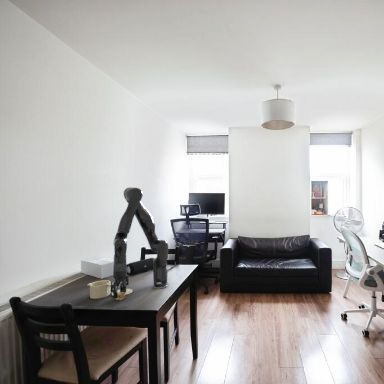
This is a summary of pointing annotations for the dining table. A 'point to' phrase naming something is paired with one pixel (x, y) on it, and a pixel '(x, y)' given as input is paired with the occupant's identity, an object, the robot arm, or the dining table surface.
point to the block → (120, 296)
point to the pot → (100, 289)
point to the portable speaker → (140, 266)
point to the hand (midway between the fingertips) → (119, 295)
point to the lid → (126, 291)
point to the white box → (97, 267)
